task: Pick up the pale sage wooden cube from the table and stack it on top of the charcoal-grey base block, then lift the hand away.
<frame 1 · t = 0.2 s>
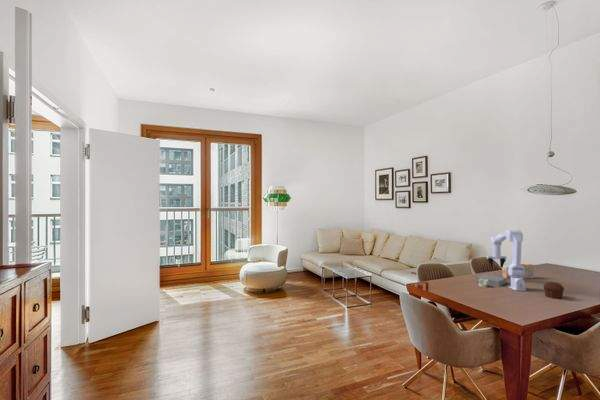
hand: (496, 267, 255), 10 cm above the table, tool pointing down, fingers open, 7 cm apart
sage cube: (483, 286, 236), on the table
muffin: (553, 297, 209), on the table
stack of blocks: (517, 277, 261), on the table
base block: (491, 282, 246), on the table
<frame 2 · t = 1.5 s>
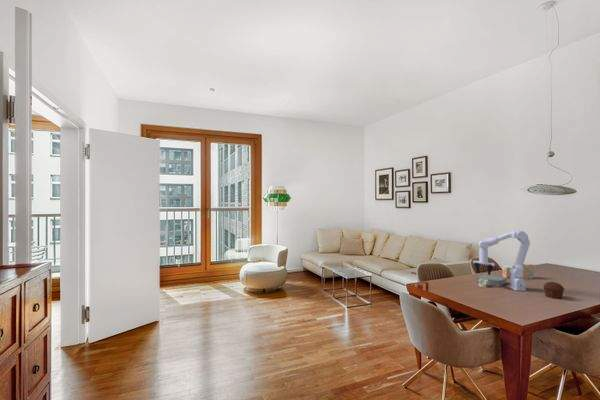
hand: (483, 273, 236), 9 cm above the table, tool pointing down, fingers open, 7 cm apart
nothing on the table moved.
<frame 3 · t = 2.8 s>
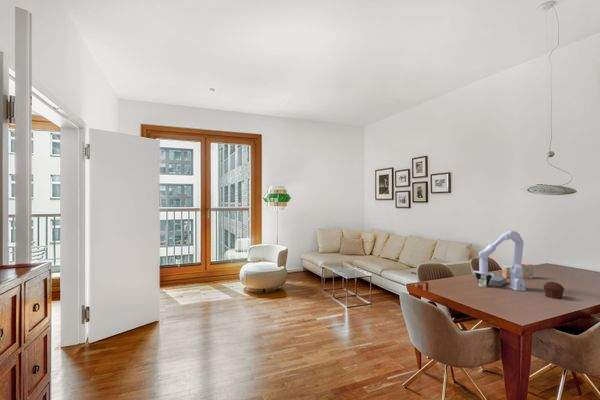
hand: (483, 284, 236), 1 cm above the table, tool pointing down, fingers closed on sage cube, 5 cm apart
sage cube: (483, 285, 236), on the table, touching gripper
everything else where it was.
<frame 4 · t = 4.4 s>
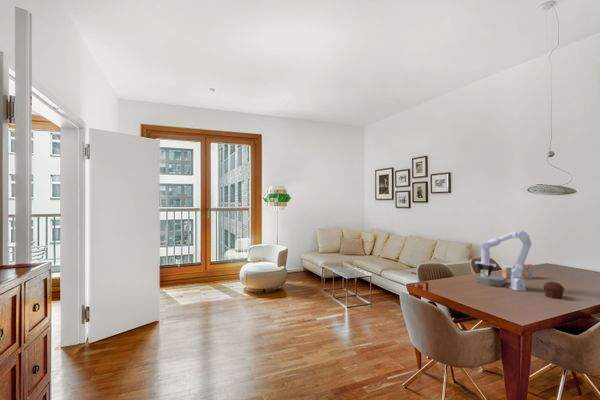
hand: (485, 274, 238), 8 cm above the table, tool pointing down, fingers closed on sage cube, 5 cm apart
sage cube: (485, 276, 238), point 7 cm above the table, touching gripper
everything else where it was.
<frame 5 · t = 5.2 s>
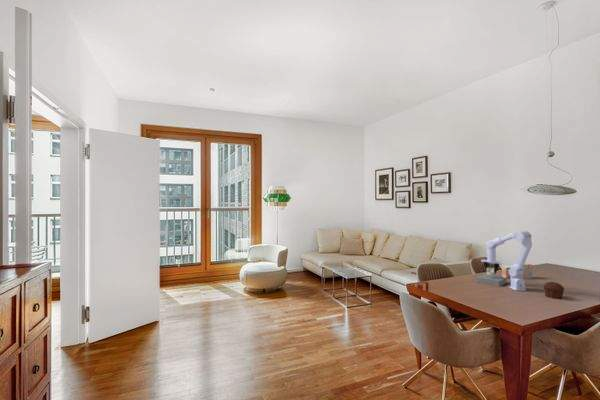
hand: (491, 272, 246), 8 cm above the table, tool pointing down, fingers closed on sage cube, 5 cm apart
sage cube: (491, 274, 245), point 7 cm above the table, touching gripper
everything else where it was.
when the fingers open (7 cm above the table, at t = 6.0 s): sage cube drops 1 cm, resting on base block.
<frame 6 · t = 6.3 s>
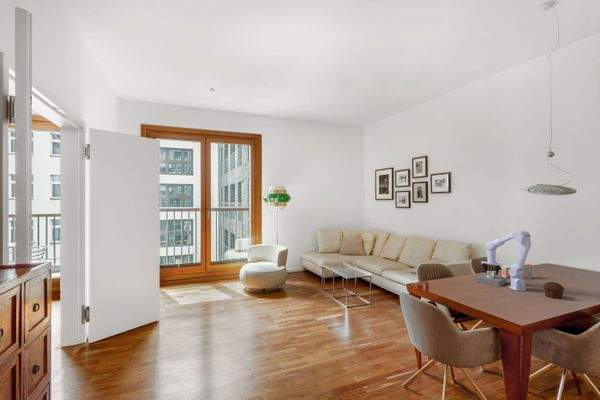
hand: (491, 273, 246), 7 cm above the table, tool pointing down, fingers open, 7 cm apart
sage cube: (491, 277, 245), point 4 cm above the table, touching base block
everything else where it was.
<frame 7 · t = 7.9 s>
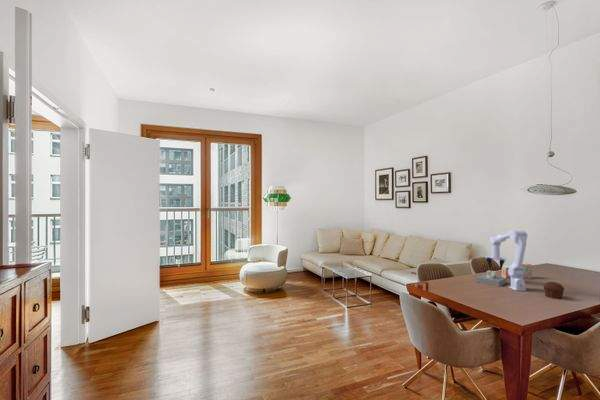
hand: (495, 268, 251), 10 cm above the table, tool pointing down, fingers open, 7 cm apart
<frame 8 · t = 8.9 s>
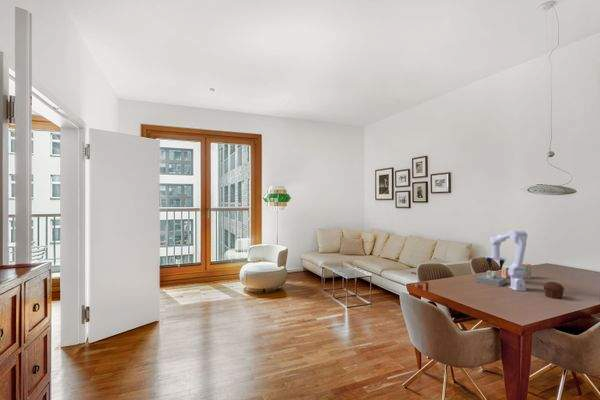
hand: (495, 268, 251), 10 cm above the table, tool pointing down, fingers open, 7 cm apart
at the end: sage cube 0.3 cm off-centre on the base block, point 4.0 cm above the base block's base; sage cube tilted 0°; the gripper is holding nothing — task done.
